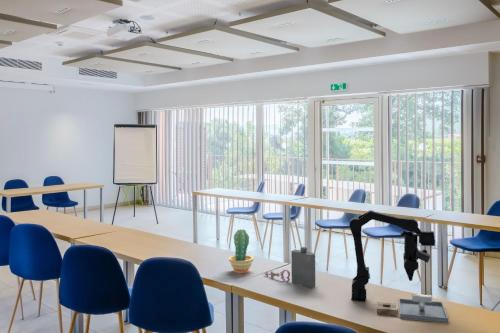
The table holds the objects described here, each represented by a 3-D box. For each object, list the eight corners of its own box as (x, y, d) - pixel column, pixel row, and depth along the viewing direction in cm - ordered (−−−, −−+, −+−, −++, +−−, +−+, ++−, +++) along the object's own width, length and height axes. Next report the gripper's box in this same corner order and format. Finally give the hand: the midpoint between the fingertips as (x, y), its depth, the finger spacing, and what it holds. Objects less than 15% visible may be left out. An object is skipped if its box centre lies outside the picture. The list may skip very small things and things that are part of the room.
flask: (318, 285, 231) (318, 248, 230) (311, 288, 227) (311, 250, 226) (296, 279, 241) (296, 244, 240) (289, 282, 237) (289, 246, 236)
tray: (399, 318, 187) (399, 313, 187) (398, 302, 205) (398, 298, 205) (448, 322, 181) (448, 318, 181) (442, 306, 199) (442, 302, 199)
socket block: (377, 313, 192) (377, 308, 192) (377, 307, 200) (377, 301, 199) (396, 315, 190) (396, 310, 189) (395, 308, 197) (395, 303, 197)
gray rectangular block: (412, 311, 193) (412, 295, 193) (411, 309, 195) (412, 293, 195) (431, 312, 191) (431, 297, 190) (431, 310, 193) (431, 295, 193)
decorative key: (265, 280, 251) (291, 282, 237) (263, 280, 250) (289, 282, 236) (263, 268, 252) (289, 269, 237) (262, 268, 251) (288, 270, 236)
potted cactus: (257, 268, 265) (256, 227, 264) (250, 275, 251) (249, 232, 249) (233, 266, 270) (232, 226, 268) (225, 273, 255) (224, 231, 253)
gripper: (430, 251, 192) (430, 285, 193) (427, 241, 209) (427, 273, 210) (404, 249, 195) (403, 283, 196) (403, 240, 213) (403, 271, 214)
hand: (410, 277), depth 204 cm, fingers open, 9 cm apart
